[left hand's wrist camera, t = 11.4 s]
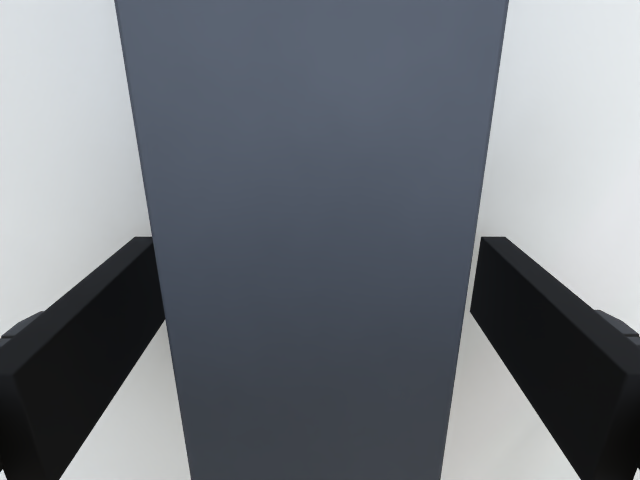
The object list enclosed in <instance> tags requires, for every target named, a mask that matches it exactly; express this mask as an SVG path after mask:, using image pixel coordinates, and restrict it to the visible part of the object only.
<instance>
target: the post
mask: <svg viewBox="0 0 640 480" xmlns="http://www.w3.org/2000/svg"><path fill="white" fill-rule="evenodd" d="M114 1H115V7H116V13H117V20H118V26H119V32H120V38H121V45H122V51H123V57H124V63H125V70H126V76H127V82H128V88H129V95H130V101H131V107H132V113H133V119H134V126H135V132H136V138H137V144H138V151H139V157H140V163H141V169H142V176H143V182H144V188H145V194H146V201H147V207H148V213H149V219H150V225H151V232H152V238H153V244H154V250H155V257H156V263H157V269H158V275H159V282H160V288H161V294H162V300H163V307H164V313H165V319H166V325H167V331H168V338H169V344H170V350H171V356H172V363H173V369H174V375H175V381H176V388H177V394H178V400H179V406H180V413H181V419H182V425H183V431H184V437H185V444H186V450H187V456H188V462H189V469H190V475H191V480H440V478H441V471H442V464H443V457H444V450H445V443H446V436H447V429H448V422H449V415H450V408H451V401H452V394H453V387H454V380H455V373H456V366H457V359H458V352H459V345H460V338H461V331H462V324H463V317H464V310H465V303H466V296H467V289H468V282H469V275H470V268H471V261H472V254H473V247H474V240H475V233H476V226H477V219H478V213H479V206H480V199H481V192H482V185H483V178H484V171H485V164H486V157H487V150H488V143H489V136H490V129H491V122H492V115H493V108H494V101H495V94H496V87H497V80H498V73H499V66H500V59H501V52H502V45H503V38H504V31H505V24H506V17H507V10H508V3H509V0H114Z"/></svg>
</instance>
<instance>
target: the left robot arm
mask: <svg viewBox="0 0 640 480" xmlns="http://www.w3.org/2000/svg"><path fill="white" fill-rule="evenodd" d="M470 313H471V314H472V316H473V317H474V319H475V320H476V322H477V323H478V325H479V326H480V328H481V329H482V331H483V332H484V334H485V335H486V337H487V338H488V340H489V341H490V343H491V344H492V346H493V347H494V349H495V350H496V352H497V353H498V355H499V356H500V358H501V359H502V361H503V362H504V364H505V365H506V367H507V369H508V370H509V372H510V373H511V375H512V376H513V378H514V379H515V381H516V382H517V384H518V385H519V387H520V388H521V390H522V391H523V393H524V394H525V396H526V397H527V399H528V400H529V402H530V403H531V405H532V406H533V408H534V409H535V411H536V412H537V414H538V415H539V417H540V418H541V420H542V421H543V423H544V425H545V426H546V428H547V429H548V431H549V432H550V434H551V435H552V437H553V438H554V440H555V441H556V443H557V444H558V446H559V447H560V449H561V450H562V452H563V453H564V455H565V456H566V458H567V459H568V461H569V462H570V464H571V465H572V467H573V468H574V470H575V471H576V473H577V474H578V476H579V478H580V479H581V480H633V478H634V476H635V473H636V470H637V468H639V470H640V337H639V334H638V333H637V332H635V331H634V330H633V329H632V328H630V327H629V326H628V325H626V324H625V323H624V322H623V321H621V320H619V319H617V318H615V317H613V316H611V315H609V314H607V313H605V312H603V311H601V310H593V309H592V308H591V307H590V306H589V305H587V304H586V303H585V302H584V301H582V300H581V299H580V298H579V297H578V296H576V295H575V294H574V293H573V292H572V291H570V290H569V289H568V288H567V287H565V286H564V285H563V284H562V283H561V282H559V281H558V280H557V279H556V278H555V277H553V276H552V275H551V274H550V273H548V272H547V271H546V270H545V269H544V268H542V267H541V266H540V265H539V264H537V263H536V262H535V261H534V260H533V259H531V258H530V257H529V256H528V255H527V254H525V253H524V252H523V251H522V250H520V249H519V248H518V247H517V246H516V245H514V244H513V243H512V242H511V241H510V240H508V239H507V238H506V237H481V242H480V248H479V255H478V261H477V268H476V274H475V281H474V288H473V294H472V301H471V307H470ZM164 320H165V313H164V307H163V300H162V294H161V288H160V282H159V275H158V269H157V263H156V257H155V250H154V244H153V238H152V237H134V238H133V239H132V240H131V241H129V242H128V243H127V244H126V245H124V246H123V247H122V248H121V249H120V250H118V251H117V252H116V253H115V254H113V255H112V256H111V257H110V258H109V259H107V260H106V261H105V262H104V263H103V264H101V265H100V266H99V267H98V268H96V269H95V270H94V271H93V272H92V273H90V274H89V275H88V276H87V277H85V278H84V279H83V280H82V281H81V282H79V283H78V284H77V285H76V286H75V287H73V288H72V289H71V290H70V291H68V292H67V293H66V294H65V295H64V296H62V297H61V298H60V299H59V300H58V301H56V302H55V303H54V304H53V305H51V306H50V307H49V308H48V309H47V310H45V311H41V312H39V313H37V314H35V315H33V316H31V317H29V318H27V319H25V320H23V321H21V322H19V323H17V324H16V325H15V326H13V327H12V328H11V329H10V330H8V331H7V332H6V333H5V334H3V335H2V336H1V339H0V472H1V471H2V469H3V470H4V473H5V476H6V478H7V480H59V479H60V478H61V476H62V474H63V473H64V471H65V470H66V468H67V467H68V465H69V464H70V462H71V461H72V459H73V458H74V456H75V455H76V453H77V452H78V450H79V449H80V447H81V446H82V444H83V443H84V441H85V440H86V438H87V437H88V435H89V434H90V432H91V431H92V429H93V428H94V426H95V425H96V423H97V422H98V420H99V418H100V417H101V415H102V414H103V412H104V411H105V409H106V408H107V406H108V405H109V403H110V402H111V400H112V399H113V397H114V396H115V394H116V393H117V391H118V390H119V388H120V387H121V385H122V384H123V382H124V381H125V379H126V378H127V376H128V375H129V373H130V372H131V370H132V369H133V367H134V365H135V364H136V362H137V361H138V359H139V358H140V356H141V355H142V353H143V352H144V350H145V349H146V347H147V346H148V344H149V343H150V341H151V340H152V338H153V337H154V335H155V334H156V332H157V331H158V329H159V328H160V326H161V325H162V323H163V322H164Z"/></svg>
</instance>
